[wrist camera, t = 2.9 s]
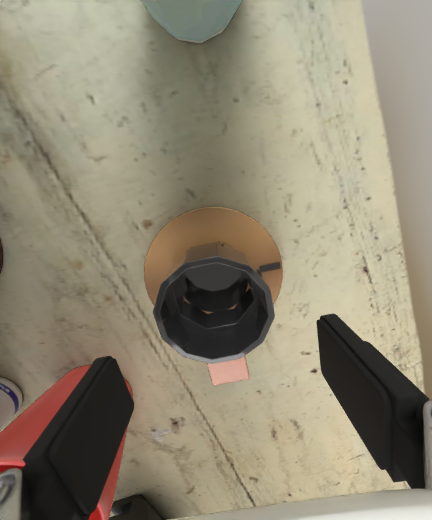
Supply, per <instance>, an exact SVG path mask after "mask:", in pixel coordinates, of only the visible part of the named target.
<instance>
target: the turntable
mask: <svg viewBox="0 0 432 520" xmlns="http://www.w3.org/2000/svg"><path fill="white" fill-rule="evenodd" d="M218 241H220V242H221V244H222V242H225V243H227V244H228V245H230V246H231V247H233V248H234V249H236V250H238V251H240V252H242V253H244V254H245V255H246V256H247V257H249V259H250V261H251V262H252V263H253V264H254V265H255V266H256V267H257V269H258V270H259V271H260V272H261V274H262V276H263V277H264V279H265V280H266V282H267V284H268V285H269V287H270V289H271V294H272V301H273V304H274V303H275V301H276V299H277V296H278V294H279V291H280V288H281V283H282V275H283V268H282V260H281V256H280V253H279V250H278V248H277V245H276V243H275V242H274V240H273V238H272V237H271V235H270V234H269V233H268V232H267V230H266V229H265V228H264V227H262V226H261V225H260V224H259V223H258V222H256V221H255V220H254V219H252V218H251V217H249V216H247V215H245V214H243V213H241V212H239V211H236V210H233V209H229V208H224V207H203V208H198V209H194V210H191V211H188V212H186V213H184V214H182V215H180V216H178V217H176V218H175V219H174V220H172V221H171V222H169V223H168V224H167V225H166V226H165V227H164V228H162V229H161V231H160V232H159V233H158V234H157V236H156V237H155V238H154V240H153V242H152V243H151V245H150V248H149V250H148V252H147V256H146V260H145V267H144V279H145V285H146V289H147V292H148V295H149V297H150V299H151V301H152V303H153V305H154V306H155V302H156V299H157V295H158V291H159V287H160V284H161V283H162V281H163V279H164V277H165V276H166V274H167V272H168V270H169V269H170V267H171V266H172V265H173V264H175V263H176V262H177V261H178V260H179V259H180V258H181V257H182V256H183V255H184V254H185V252H186V250H187V249H188V250H189V248H190V247H194V246H199V245H204V244H208V243H213V242H218ZM248 289H249V284H248V287H247V290H248ZM247 290H246V291H247ZM183 297H184V296H183ZM184 300H185V301H186V302H188V301H187V300H186V299H185V297H184ZM188 303H189V302H188ZM236 305H237V304H236ZM236 305H235V306H236ZM235 306H233V307H231V308H230V309H233V308H234V307H235ZM227 310H228V309H227ZM202 311H203V310H202ZM204 312H206V313H213V312H207V311H204Z"/></svg>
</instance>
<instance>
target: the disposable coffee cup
mask: <svg viewBox="0 0 432 520" xmlns="http://www.w3.org/2000/svg"><path fill="white" fill-rule="evenodd" d="M141 1H142V3H143V4H144V6H145V8H146V9H147V11H148V13H149V14H150V16H151V17H152V18H153V19H154V20H155V21H157V22H158V23H159V24H160V25H161V26H162V27H163V28H164V29H165V30H166V31H167V32H168V33H170V34H171V35H172V36H173V37H175V38H176V39H177V40H183V41H189V42H195V43H203V42H204V41H206V40H208V39H210V38H212V37H214V36H216V35H218V34H219V33H221V32H223V30H224V29H225V28H226V27H227V25H228V24H229V22H230V20H231V19H232V17H233V16H234V14H235V12H236V11H237V9H238V7H239V6H240V4H241V2H242V1H243V0H141Z"/></svg>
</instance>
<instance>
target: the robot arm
mask: <svg viewBox="0 0 432 520" xmlns="http://www.w3.org/2000/svg"><path fill="white" fill-rule="evenodd" d="M317 331H318V342H319V353H320V364H321V371H322V374H323V376H324V378H325V380H326V381H327V383H328V385H329V386H330V388H331V390H332V391H333V393H334V395H335V396H336V398H337V400H338V401H339V403H340V404H341V406H342V408H343V409H344V411H345V413H346V414H347V416H348V418H349V419H350V421H351V423H352V424H353V426H354V428H355V429H356V431H357V432H358V434H359V436H360V437H361V439H362V441H363V442H364V444H365V446H366V447H367V449H368V451H369V452H370V454H371V456H372V457H373V459H374V460H375V462H376V464H377V465H378V467H379V468H380V469H381V470H385V469H386V471H387V472H388V474H389V476H390V477H391V479H392V480H393V482H400V481H407V483H408V484H409V486H410V487H411V489H401V490H385V491H376V492H367V493H358V494H350V495H341V496H332V497H325V498H317V499H310V500H303V501H295V502H288V503H281V504H274V505H266V506H259V507H252V508H245V509H238V510H231V511H224V512H217V513H210V514H203V515H196V516H189V517H182V518H175V519H168V520H432V400H430V399H429V398H428V397H427V396H426V395H425V394H424V393H423V392H421V391H420V390H419V389H418V388H417V387H416V386H415V385H414V384H413V383H412V382H411V381H410V380H409V379H408V378H407V377H406V376H404V375H403V374H402V373H401V372H400V371H399V370H398V369H397V368H396V367H395V366H394V365H393V364H392V363H391V362H390V361H389V360H387V359H386V358H385V357H384V356H383V355H382V354H381V353H380V352H379V351H378V350H377V349H376V348H375V347H374V346H373V345H371V344H370V343H369V342H367V341H363V340H362V339H361V338H360V337H359V336H358V335H357V334H356V333H355V332H353V331H352V330H351V329H350V328H349V327H348V326H347V325H346V324H345V323H344V322H343V321H342V320H341V319H340V318H339V317H338V316H337V315H336V314H329V315H323V316H321V317H320V320H317ZM133 409H134V402H133V399H132V397H131V394H130V392H129V390H128V387H127V385H126V382H125V380H124V378H123V375H122V373H121V371H120V368H119V366H118V364H117V361H116V359H113V358H112V357H111V356H106V357H101V358H97V359H96V360H95V361H94V362H93V364H92V365H91V366H90V368H89V369H88V370H87V372H86V373H85V375H84V376H83V377H82V379H81V380H80V381H79V383H78V384H77V385H76V387H75V388H74V390H73V391H72V392H71V394H70V395H69V396H68V398H67V399H66V401H65V402H64V403H63V405H62V406H61V407H60V409H59V410H58V412H57V413H56V414H55V416H54V417H53V418H52V420H51V421H50V422H49V424H48V425H47V427H46V428H45V429H44V431H43V432H42V433H41V435H40V436H39V438H38V439H37V440H36V442H35V443H34V444H33V446H32V447H31V449H30V450H29V451H28V453H27V454H26V455H25V457H24V458H23V461H24V462H25V466H24V467H23V468H22V470H20V469H18V468H11V469H8V470H6V471H3V472H2V473H0V520H89V517H90V515H91V513H93V512H94V511H95V509H96V507H97V505H98V502H99V500H100V497H101V494H102V492H103V489H104V486H105V484H106V481H107V479H108V476H109V473H110V471H111V468H112V465H113V463H114V460H115V457H116V455H117V452H118V449H119V447H120V444H121V442H122V439H123V436H124V434H125V431H126V428H127V426H128V423H129V420H130V418H131V415H132V413H133Z"/></svg>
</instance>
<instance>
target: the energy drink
mask: <svg viewBox="0 0 432 520" xmlns="http://www.w3.org/2000/svg"><path fill="white" fill-rule="evenodd" d="M21 404H22V393H21V391H20V389H19V388H18V387H17V386H16V385H15V384H14V383H13V382H11V381H10V380H7V379H5V378H2V377H0V430H1V429H2V428H3V426H4V425H5V424H6V423H7V422H8V421H9V420H10V419H11V417H12V416H13V415H14V414H15V413H16V412H17V411H18V410H19V408H20V407H21Z"/></svg>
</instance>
